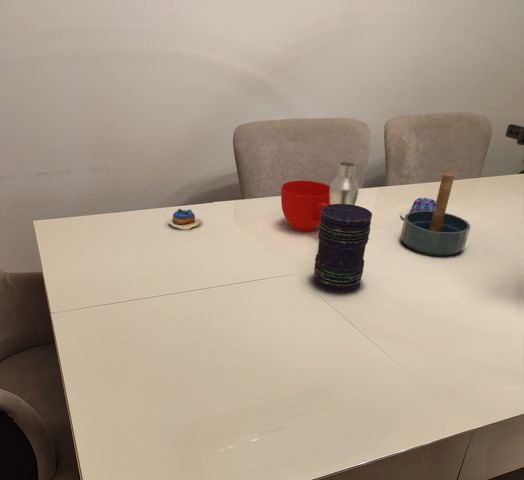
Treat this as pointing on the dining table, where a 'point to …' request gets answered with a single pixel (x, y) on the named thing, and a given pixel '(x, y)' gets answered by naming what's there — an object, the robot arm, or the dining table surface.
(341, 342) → the dining table surface
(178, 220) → the dessert
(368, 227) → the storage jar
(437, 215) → the stirring stick
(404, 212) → the purple patterned hat
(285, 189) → the ceramic cup
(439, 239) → the bowl
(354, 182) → the silver bottle
